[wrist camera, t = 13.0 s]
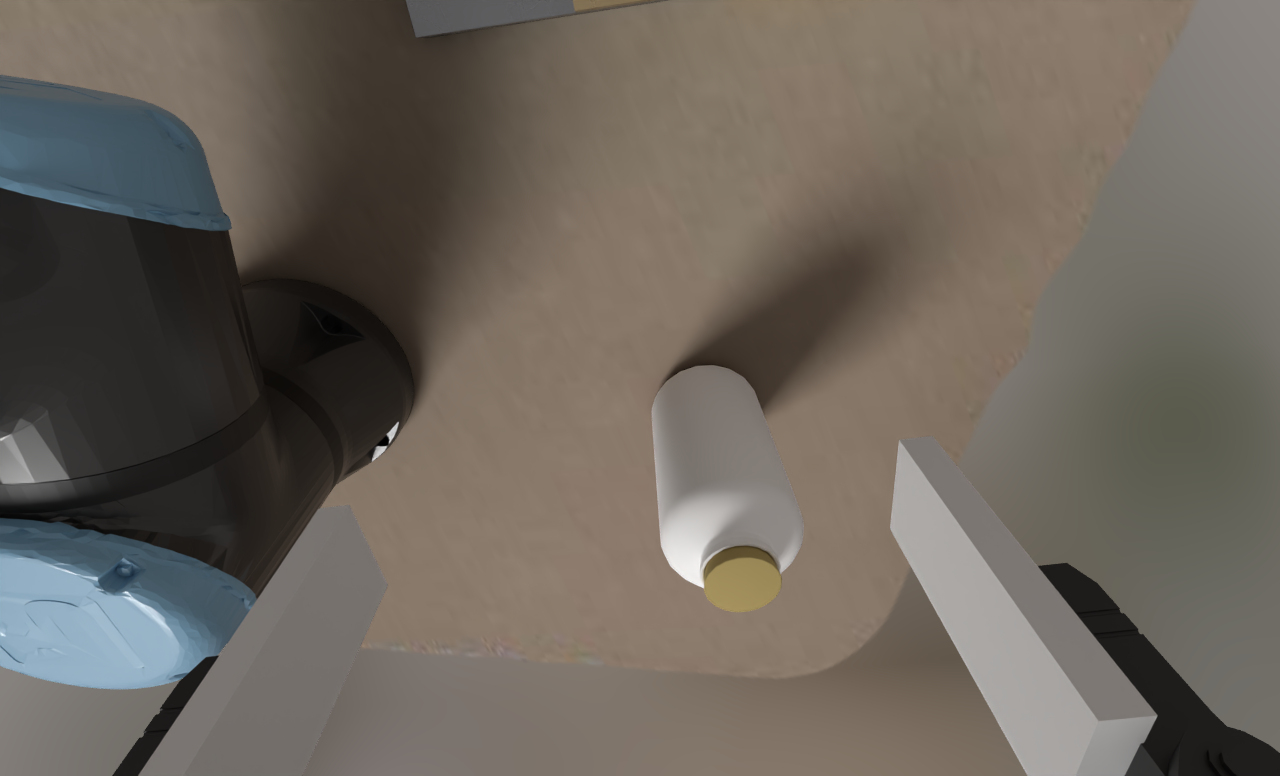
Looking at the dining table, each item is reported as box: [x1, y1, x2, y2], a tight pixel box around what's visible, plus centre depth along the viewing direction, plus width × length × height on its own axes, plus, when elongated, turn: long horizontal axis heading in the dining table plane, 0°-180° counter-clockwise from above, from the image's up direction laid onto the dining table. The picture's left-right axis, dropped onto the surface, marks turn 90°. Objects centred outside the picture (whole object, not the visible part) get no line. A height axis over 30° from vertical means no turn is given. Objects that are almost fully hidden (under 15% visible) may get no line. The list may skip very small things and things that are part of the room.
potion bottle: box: [652, 365, 804, 612], centre depth 39 cm, size 8×8×18 cm
